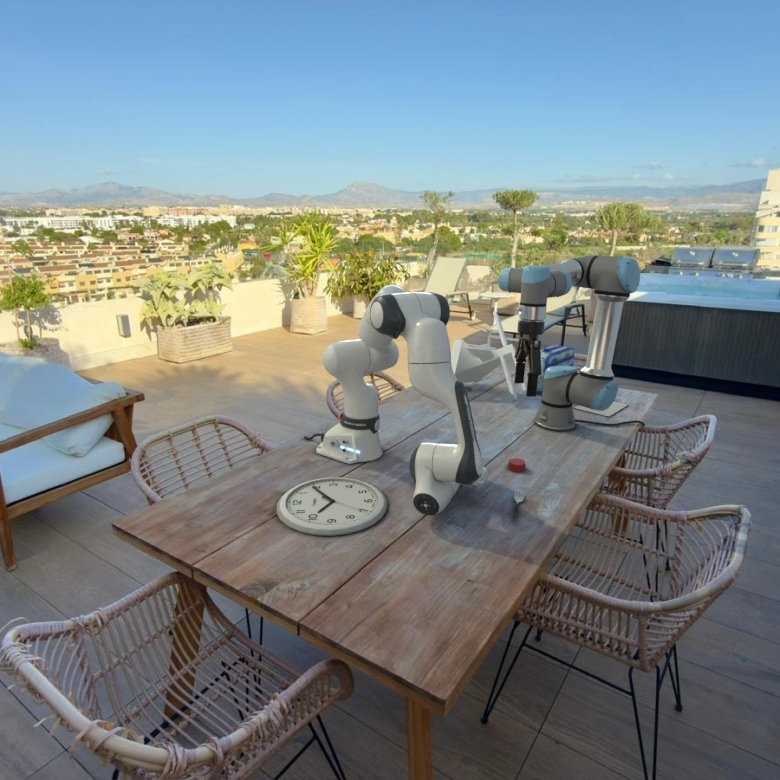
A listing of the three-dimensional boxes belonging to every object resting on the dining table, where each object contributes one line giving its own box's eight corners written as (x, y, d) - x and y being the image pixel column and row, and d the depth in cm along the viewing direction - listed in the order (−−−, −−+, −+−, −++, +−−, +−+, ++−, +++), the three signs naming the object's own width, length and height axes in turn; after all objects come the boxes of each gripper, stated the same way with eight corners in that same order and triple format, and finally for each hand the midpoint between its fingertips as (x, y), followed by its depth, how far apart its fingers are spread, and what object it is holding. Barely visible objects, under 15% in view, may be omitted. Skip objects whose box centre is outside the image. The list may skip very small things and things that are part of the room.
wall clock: (392, 527, 129) (268, 531, 127) (391, 533, 130) (269, 537, 127) (383, 473, 158) (282, 475, 155) (383, 478, 158) (282, 480, 156)
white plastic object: (461, 429, 252) (437, 405, 227) (444, 352, 274) (420, 323, 250) (535, 404, 240) (518, 377, 215) (510, 326, 262) (492, 293, 237)
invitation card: (608, 416, 214) (573, 407, 224) (608, 416, 214) (573, 408, 224) (628, 404, 229) (594, 396, 238) (628, 405, 229) (594, 397, 238)
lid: (524, 466, 168) (525, 459, 168) (524, 473, 164) (525, 466, 163) (508, 464, 170) (509, 457, 169) (507, 471, 165) (508, 464, 164)
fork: (507, 521, 136) (508, 514, 136) (515, 493, 151) (516, 487, 150) (517, 523, 135) (518, 516, 135) (524, 495, 150) (525, 488, 149)
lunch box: (546, 398, 236) (551, 353, 229) (525, 393, 243) (529, 349, 237) (573, 387, 253) (579, 344, 247) (553, 382, 260) (558, 341, 254)
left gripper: (482, 476, 141) (494, 456, 153) (411, 462, 148) (428, 444, 160) (480, 497, 142) (492, 476, 154) (411, 482, 150) (427, 463, 162)
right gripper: (508, 313, 164) (503, 377, 171) (530, 327, 141) (523, 402, 147) (532, 313, 165) (525, 378, 171) (558, 328, 141) (549, 402, 147)
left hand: (459, 460), depth 158 cm, fingers open, 8 cm apart
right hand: (524, 389), depth 159 cm, fingers open, 13 cm apart
